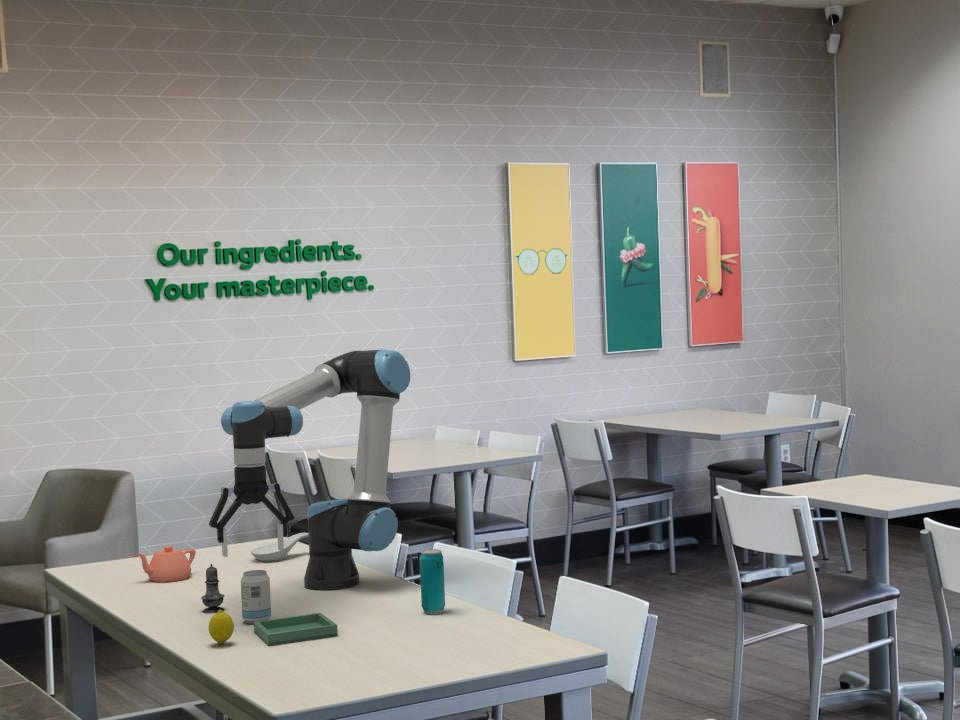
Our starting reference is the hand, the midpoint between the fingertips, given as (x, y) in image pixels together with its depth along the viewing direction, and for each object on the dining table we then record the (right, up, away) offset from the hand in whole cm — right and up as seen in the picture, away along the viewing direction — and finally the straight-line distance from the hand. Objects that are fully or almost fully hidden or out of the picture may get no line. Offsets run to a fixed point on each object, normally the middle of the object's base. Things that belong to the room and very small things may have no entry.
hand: (253, 553), depth 286 cm
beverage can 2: (+43, -15, +3) cm, 46 cm away
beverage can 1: (+1, -17, +1) cm, 17 cm away
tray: (+12, -17, -13) cm, 24 cm away
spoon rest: (-5, -15, +83) cm, 85 cm away
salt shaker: (-13, -17, +14) cm, 26 cm away
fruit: (-3, -18, -20) cm, 27 cm away
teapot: (-36, -17, +57) cm, 69 cm away
